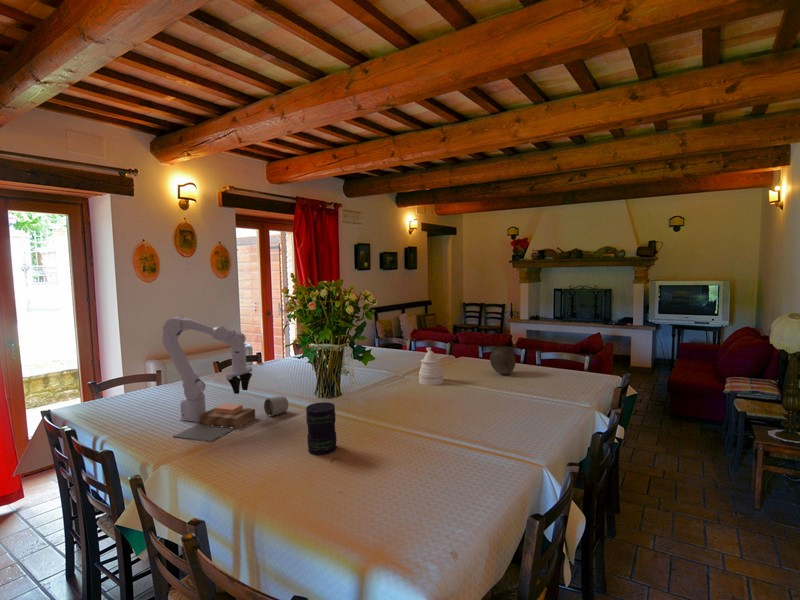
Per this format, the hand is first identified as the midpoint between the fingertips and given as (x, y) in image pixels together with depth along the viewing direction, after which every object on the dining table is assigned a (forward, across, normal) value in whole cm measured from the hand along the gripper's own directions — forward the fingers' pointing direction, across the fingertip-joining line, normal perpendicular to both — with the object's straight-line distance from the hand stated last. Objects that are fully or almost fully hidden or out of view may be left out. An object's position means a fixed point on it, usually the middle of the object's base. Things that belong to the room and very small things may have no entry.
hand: (240, 391), depth 188 cm
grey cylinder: (+10, +4, -14) cm, 17 cm away
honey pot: (+10, +68, -67) cm, 96 cm away
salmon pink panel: (+6, -8, 0) cm, 10 cm away
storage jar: (+10, -24, -52) cm, 58 cm away
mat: (+10, -22, 0) cm, 24 cm away
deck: (+10, -9, 0) cm, 13 cm away
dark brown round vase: (+10, +92, -102) cm, 138 cm away
